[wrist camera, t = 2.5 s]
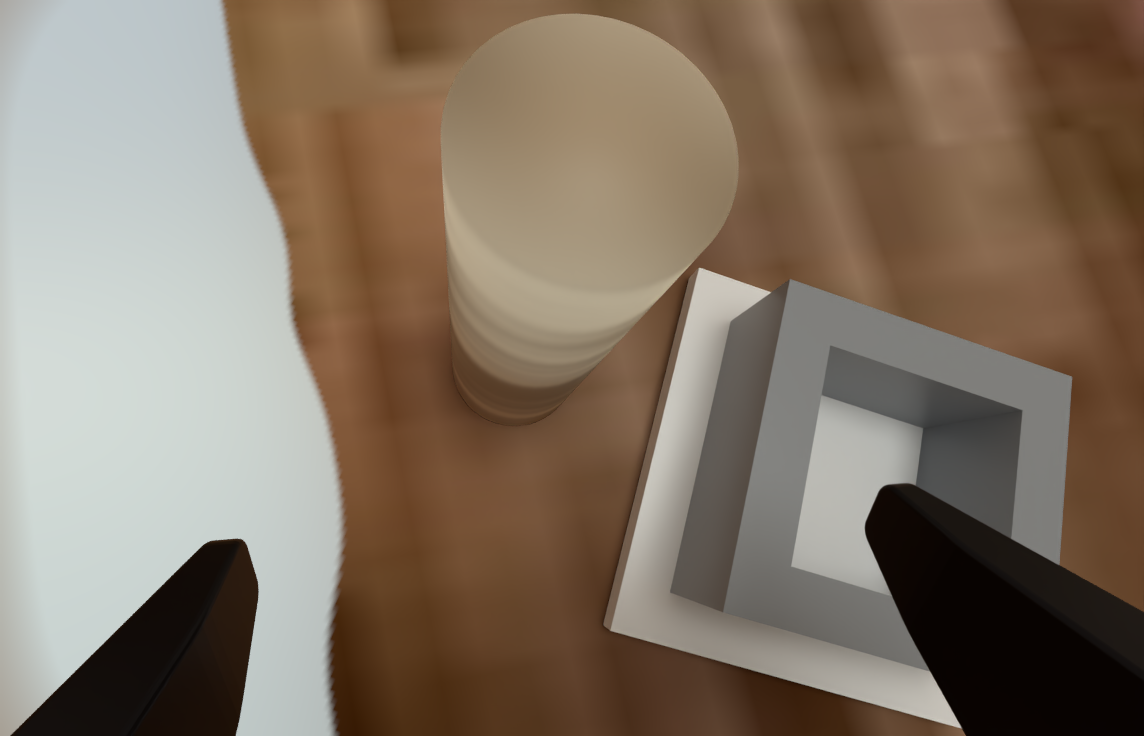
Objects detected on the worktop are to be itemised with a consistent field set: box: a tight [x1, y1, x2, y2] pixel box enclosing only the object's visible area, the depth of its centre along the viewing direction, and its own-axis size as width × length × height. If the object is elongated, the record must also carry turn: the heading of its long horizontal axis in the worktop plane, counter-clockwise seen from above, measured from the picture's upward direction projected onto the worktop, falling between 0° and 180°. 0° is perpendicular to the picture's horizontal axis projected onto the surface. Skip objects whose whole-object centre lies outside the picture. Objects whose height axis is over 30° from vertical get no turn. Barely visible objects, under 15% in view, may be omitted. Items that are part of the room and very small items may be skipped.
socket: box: [603, 268, 1072, 728], centre depth 19 cm, size 12×12×5 cm
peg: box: [441, 14, 739, 426], centre depth 15 cm, size 4×4×13 cm
